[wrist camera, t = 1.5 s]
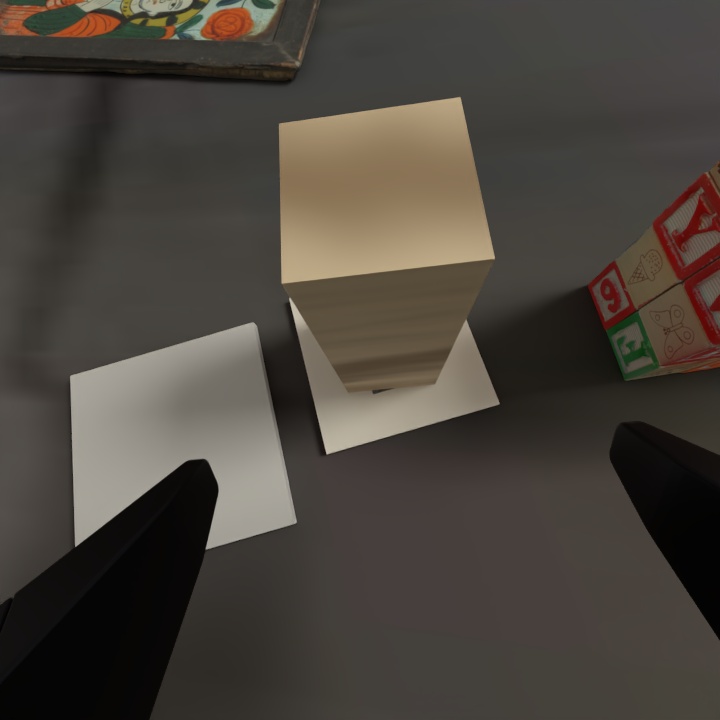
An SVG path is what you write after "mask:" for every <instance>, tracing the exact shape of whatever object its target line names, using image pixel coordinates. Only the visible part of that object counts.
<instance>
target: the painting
mask: <svg viewBox="0 0 720 720" xmlns="http://www.w3.org/2000/svg"><path fill="white" fill-rule="evenodd" d="M320 1H321V0H0V69H6V70H39V71H67V72H105V71H110V72H116V73H126V74H145V73H155V74H177V75H194V76H204V77H219V78H235V79H254V80H272V81H286V80H290V81H291V80H292V79H293V78H294V75H295V73H296V71H299V70H300V68H301V66H302V64H303V60H304V55H305V51H306V48H307V44H308V41H309V39H310V35H311V32H312V29H313V26H314V22H315V19H316V16H317V12H318V9H319V5H320Z"/></svg>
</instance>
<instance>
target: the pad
mask: <svg viewBox="0 0 720 720" xmlns="http://www.w3.org/2000/svg"><path fill="white" fill-rule="evenodd" d="M70 384H71V419H72V454H73V488H74V523H75V547H76V546H77V545H79V544H80V543H81V542H83V541H84V540H85V539H86V538H88V537H89V536H90V535H92V534H93V533H94V532H95V531H97V530H98V529H99V528H101V527H102V526H103V525H104V524H106V523H107V522H108V521H110V520H111V519H112V518H113V517H115V516H116V515H117V514H119V513H120V512H121V511H122V510H124V509H125V508H126V507H128V506H129V505H130V504H131V503H133V502H134V501H135V500H137V499H138V498H139V497H140V496H142V495H143V494H144V493H146V492H147V491H148V490H149V489H151V488H152V487H153V486H155V485H156V484H157V483H158V482H160V481H161V480H162V479H164V478H165V477H166V476H167V475H169V474H170V473H171V472H173V471H174V470H175V469H176V468H178V467H179V466H180V465H182V464H183V463H184V462H186V461H188V460H192V459H206V460H207V461H208V462H209V464H210V466H211V468H212V471H213V473H214V476H215V478H216V480H217V483H218V487H219V493H218V498H217V503H216V507H215V511H214V516H213V520H212V524H211V529H210V533H209V537H208V542H207V546H206V549H210V548H213V547H217V546H220V545H224V544H227V543H230V542H234V541H237V540H241V539H244V538H248V537H251V536H255V535H258V534H262V533H265V532H268V531H272V530H275V529H279V528H282V527H286V526H289V525H293V524H295V523H297V521H296V516H295V511H294V506H293V501H292V496H291V492H290V487H289V482H288V477H287V472H286V467H285V462H284V457H283V452H282V447H281V442H280V437H279V433H278V428H277V423H276V418H275V413H274V408H273V403H272V398H271V393H270V388H269V383H268V378H267V374H266V369H265V364H264V359H263V354H262V349H261V344H260V339H259V334H258V329H257V325H256V324H255V323H254V322H252V323H249V324H245V325H242V326H239V327H235V328H232V329H228V330H225V331H222V332H218V333H215V334H211V335H208V336H205V337H201V338H198V339H195V340H191V341H188V342H184V343H181V344H178V345H174V346H171V347H167V348H164V349H161V350H157V351H154V352H150V353H147V354H144V355H140V356H137V357H133V358H130V359H127V360H123V361H120V362H116V363H113V364H110V365H106V366H103V367H99V368H96V369H93V370H89V371H86V372H82V373H79V374H76V375H72V376H70Z"/></svg>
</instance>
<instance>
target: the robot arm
mask: <svg viewBox="0 0 720 720" xmlns="http://www.w3.org/2000/svg"><path fill="white" fill-rule="evenodd" d="M610 460H611V463H612V465H613V467H614V469H615V471H616V473H617V475H618V477H619V478H620V480H621V482H622V484H623V486H624V488H625V490H626V492H627V494H628V495H629V497H630V499H631V501H632V503H633V505H634V507H635V509H636V511H637V512H638V514H639V516H640V518H641V520H642V522H643V524H644V525H645V527H646V529H647V531H648V532H649V534H650V535H651V537H652V538H653V540H654V542H655V543H656V545H657V546H658V548H659V549H660V551H661V552H662V554H663V555H664V557H665V558H666V560H667V561H668V563H669V564H670V566H671V567H672V569H673V570H674V572H675V574H676V575H677V577H678V578H679V580H680V581H681V583H682V584H683V586H684V587H685V589H686V590H687V592H688V593H689V595H690V596H691V598H692V599H693V601H694V602H695V604H696V605H697V607H698V608H699V610H700V611H701V613H702V614H703V616H704V617H705V619H706V620H707V622H708V623H709V625H710V626H711V628H712V629H713V631H714V633H715V634H716V636H717V637H718V639H719V640H720V455H718V454H715V453H713V452H711V451H708V450H706V449H704V448H702V447H699V446H697V445H695V444H692V443H690V442H688V441H686V440H683V439H681V438H679V437H676V436H674V435H672V434H670V433H667V432H665V431H663V430H660V429H658V428H656V427H654V426H651V425H649V424H647V423H644V422H641V421H633V422H622V423H620V424H618V425H617V427H616V429H615V433H614V437H613V441H612V444H611V448H610ZM218 493H219V487H218V483H217V480H216V478H215V476H214V473H213V471H212V468H211V466H210V464H209V462H208V461H207V460H206V459H192V460H188V461H186V462H184V463H183V464H182V465H180V466H179V467H178V468H176V469H175V470H174V471H173V472H171V473H170V474H169V475H167V476H166V477H165V478H164V479H162V480H161V481H160V482H158V483H157V484H156V485H155V486H153V487H152V488H151V489H149V490H148V491H147V492H146V493H144V494H143V495H142V496H140V497H139V498H138V499H137V500H135V501H134V502H133V503H131V504H130V505H129V506H128V507H126V508H125V509H124V510H122V511H121V512H120V513H119V514H117V515H116V516H115V517H113V518H112V519H111V520H110V521H108V522H107V523H106V524H104V525H103V526H102V527H101V528H99V529H98V530H97V531H95V532H94V533H93V534H92V535H90V536H89V537H88V538H86V539H85V540H84V541H83V542H81V543H80V544H79V545H77V546H76V547H75V548H73V549H72V550H71V551H70V552H68V553H67V554H66V555H64V556H63V557H62V558H61V559H59V560H58V561H57V562H55V563H54V564H53V565H52V566H50V567H49V568H48V569H46V570H45V571H44V572H43V573H41V574H40V575H39V576H37V577H36V578H35V579H34V580H32V581H31V582H30V583H28V584H27V585H26V586H25V587H23V588H22V589H21V590H19V591H18V592H17V593H16V594H15V595H14V598H13V597H12V598H9V599H8V600H6V601H5V602H4V603H3V604H1V605H0V720H149V719H150V716H151V713H152V710H153V707H154V704H155V701H156V698H157V695H158V692H159V689H160V686H161V683H162V680H163V677H164V674H165V672H166V669H167V666H168V663H169V660H170V657H171V654H172V651H173V648H174V645H175V642H176V639H177V636H178V633H179V630H180V627H181V624H182V621H183V618H184V615H185V613H186V610H187V607H188V604H189V601H190V598H191V595H192V592H193V589H194V586H195V583H196V580H197V577H198V574H199V571H200V568H201V565H202V562H203V558H204V554H205V550H206V546H207V542H208V537H209V533H210V529H211V524H212V520H213V516H214V511H215V507H216V503H217V498H218Z"/></svg>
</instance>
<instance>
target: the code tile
mask: <svg viewBox="0 0 720 720" xmlns="http://www.w3.org/2000/svg"><path fill="white" fill-rule="evenodd" d="M289 300H290V304H291V308H292V312H293V316H294V321H295V325H296V329H297V333H298V337H299V341H300V346H301V350H302V354H303V358H304V362H305V366H306V371H307V375H308V379H309V383H310V387H311V391H312V396H313V400H314V404H315V408H316V412H317V417H318V421H319V425H320V429H321V433H322V437H323V442H324V446H325V450H326V454H327V455H328V454H332V453H335V452H338V451H342V450H345V449H349V448H352V447H356V446H359V445H363V444H366V443H369V442H373V441H376V440H380V439H383V438H387V437H390V436H394V435H397V434H400V433H404V432H407V431H411V430H414V429H418V428H421V427H425V426H428V425H431V424H435V423H438V422H442V421H445V420H449V419H452V418H455V417H459V416H462V415H466V414H469V413H473V412H476V411H480V410H483V409H486V408H490V407H493V406H497V405H499V404H500V403H499V400H498V398H497V395H496V393H495V390H494V388H493V385H492V383H491V380H490V378H489V375H488V373H487V370H486V368H485V365H484V363H483V360H482V358H481V355H480V353H479V350H478V348H477V345H476V343H475V340H474V338H473V335H472V333H471V330H470V328H469V325H468V323H467V320H465V323H464V325H463V327H462V329H461V331H460V333H459V335H458V337H457V339H456V341H455V344H454V346H453V348H452V350H451V352H450V354H449V356H448V358H447V360H446V362H445V365H444V367H443V369H442V371H441V373H440V375H439V377H438V379H437V381H436V383H435V384H432V385H422V386H412V387H401V388H391V389H380V390H370V391H359V392H349V393H348V391H347V390H346V388H345V386H344V385H343V383H342V381H341V380H340V378H339V376H338V375H337V373H336V372H335V370H334V368H333V367H332V365H331V363H330V362H329V360H328V358H327V357H326V355H325V354H324V352H323V350H322V349H321V347H320V345H319V344H318V342H317V340H316V339H315V337H314V336H313V334H312V332H311V331H310V329H309V327H308V326H307V324H306V322H305V321H304V319H303V318H302V316H301V314H300V313H299V311H298V309H297V308H296V306H295V304H294V303H293V301H292V300H291V298H289Z"/></svg>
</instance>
